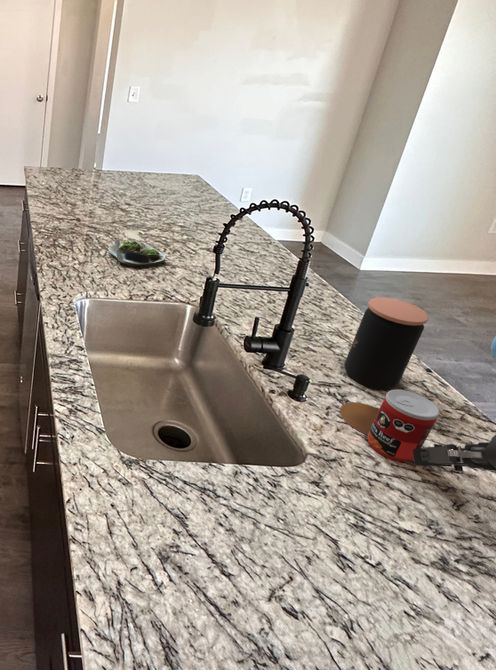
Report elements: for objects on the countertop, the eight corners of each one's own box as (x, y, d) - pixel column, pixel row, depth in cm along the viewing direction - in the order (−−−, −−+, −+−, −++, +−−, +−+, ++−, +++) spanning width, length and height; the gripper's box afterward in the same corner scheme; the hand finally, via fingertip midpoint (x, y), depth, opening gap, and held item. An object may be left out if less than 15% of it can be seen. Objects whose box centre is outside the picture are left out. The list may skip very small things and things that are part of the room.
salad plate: (94, 246, 186) (96, 234, 184) (139, 242, 191) (141, 230, 189) (123, 270, 170) (125, 257, 168) (171, 264, 175) (174, 251, 173)
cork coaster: (398, 413, 111) (398, 413, 111) (408, 447, 103) (409, 447, 103) (337, 396, 116) (337, 396, 116) (342, 428, 107) (342, 427, 107)
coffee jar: (365, 360, 129) (392, 294, 121) (409, 387, 120) (441, 318, 112) (331, 367, 126) (357, 300, 118) (374, 395, 117) (405, 325, 109)
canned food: (357, 432, 106) (377, 388, 101) (398, 434, 106) (420, 389, 101) (382, 462, 99) (404, 416, 94) (425, 464, 99) (450, 418, 94)
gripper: (494, 481, 73) (382, 475, 95) (599, 492, 71) (461, 484, 94) (483, 423, 75) (376, 431, 97) (584, 433, 74) (453, 439, 96)
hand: (418, 457), depth 95 cm, fingers closed
